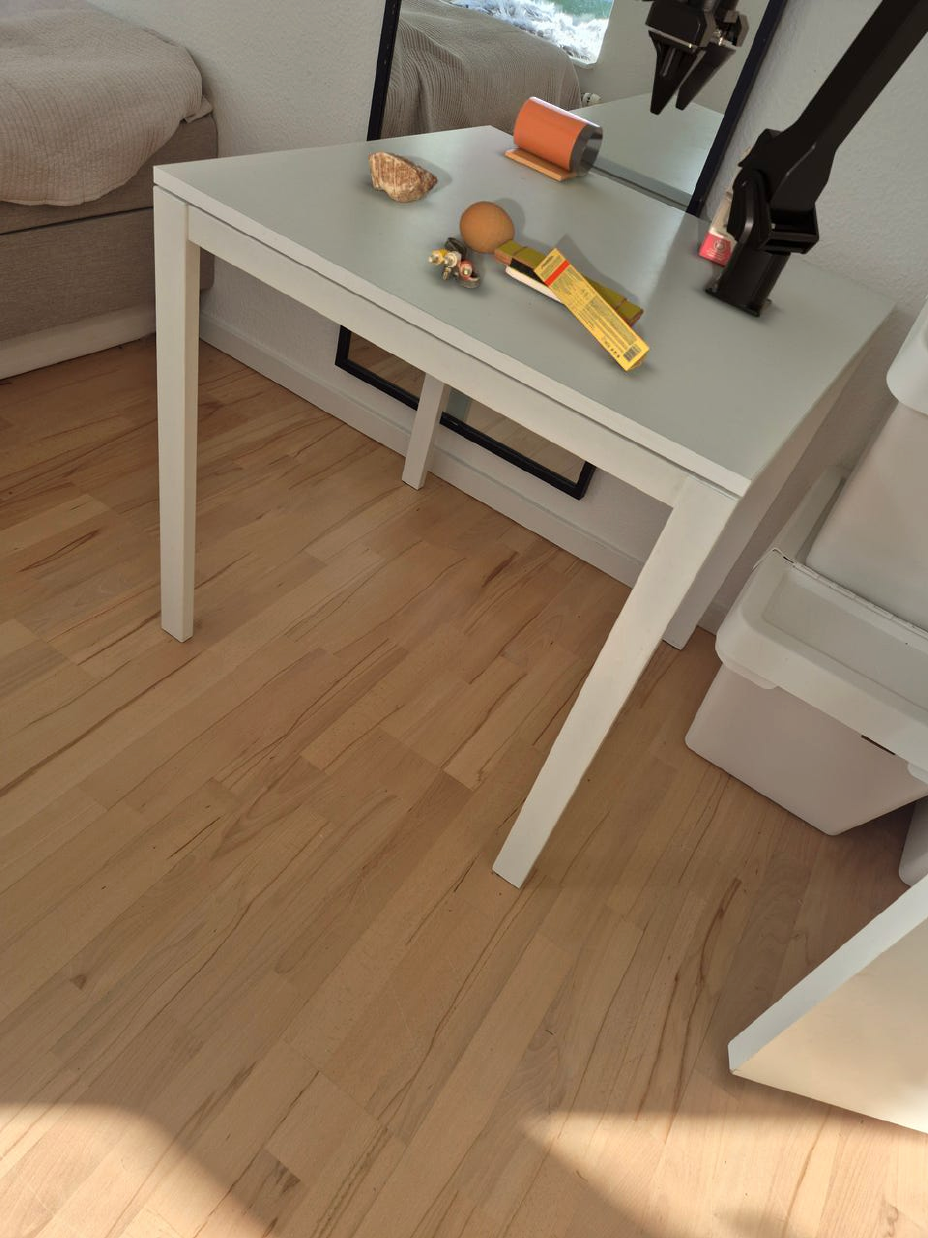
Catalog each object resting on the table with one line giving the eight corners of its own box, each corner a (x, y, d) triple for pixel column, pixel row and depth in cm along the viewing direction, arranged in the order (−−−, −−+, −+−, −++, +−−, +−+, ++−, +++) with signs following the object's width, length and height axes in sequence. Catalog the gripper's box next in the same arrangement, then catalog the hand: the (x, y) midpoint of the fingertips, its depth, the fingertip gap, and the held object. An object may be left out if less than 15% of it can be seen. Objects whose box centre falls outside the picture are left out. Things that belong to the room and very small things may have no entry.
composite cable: (443, 243, 79) (452, 217, 77) (490, 263, 79) (499, 238, 78) (421, 277, 72) (430, 249, 70) (472, 299, 72) (482, 272, 70)
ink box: (696, 254, 99) (744, 148, 91) (701, 245, 103) (748, 142, 95) (763, 282, 98) (817, 178, 91) (766, 272, 102) (819, 170, 94)
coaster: (559, 181, 106) (561, 176, 106) (504, 155, 108) (505, 150, 108) (584, 173, 112) (585, 168, 112) (531, 149, 114) (533, 144, 114)
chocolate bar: (650, 348, 69) (652, 353, 71) (555, 247, 70) (560, 255, 72) (626, 371, 69) (629, 376, 72) (533, 270, 71) (538, 278, 73)
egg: (460, 187, 77) (507, 205, 81) (443, 236, 80) (490, 250, 83) (485, 203, 75) (533, 220, 79) (467, 252, 77) (514, 267, 81)
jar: (508, 147, 109) (523, 96, 105) (527, 145, 113) (542, 96, 109) (573, 178, 106) (591, 127, 103) (590, 174, 111) (608, 125, 107)
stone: (427, 221, 87) (442, 173, 86) (422, 201, 81) (438, 149, 81) (362, 199, 87) (377, 151, 86) (353, 177, 81) (368, 125, 81)
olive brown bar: (511, 235, 78) (505, 256, 80) (495, 245, 76) (489, 265, 78) (645, 306, 75) (637, 325, 77) (633, 318, 73) (624, 337, 75)
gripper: (688, -77, 92) (632, 81, 103) (632, -98, 79) (574, 87, 89) (779, -42, 90) (713, 116, 100) (737, -57, 76) (665, 127, 87)
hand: (667, 111), depth 94 cm, fingers open, 9 cm apart
